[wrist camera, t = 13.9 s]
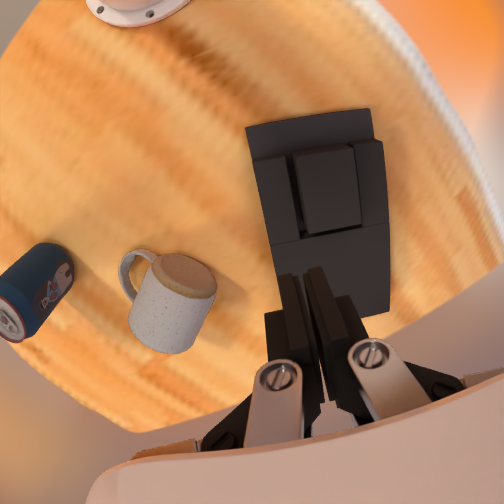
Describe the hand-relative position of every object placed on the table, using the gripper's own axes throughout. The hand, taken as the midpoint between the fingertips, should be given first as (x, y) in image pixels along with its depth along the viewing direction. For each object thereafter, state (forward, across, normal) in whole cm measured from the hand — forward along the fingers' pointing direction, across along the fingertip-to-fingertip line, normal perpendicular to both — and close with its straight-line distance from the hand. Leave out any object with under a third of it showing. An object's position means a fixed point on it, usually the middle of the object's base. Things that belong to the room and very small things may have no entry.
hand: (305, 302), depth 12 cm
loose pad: (+20, -5, +2) cm, 20 cm away
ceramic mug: (+21, +13, +9) cm, 26 cm away
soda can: (+21, +27, +3) cm, 34 cm away
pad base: (+20, -5, +6) cm, 22 cm away
